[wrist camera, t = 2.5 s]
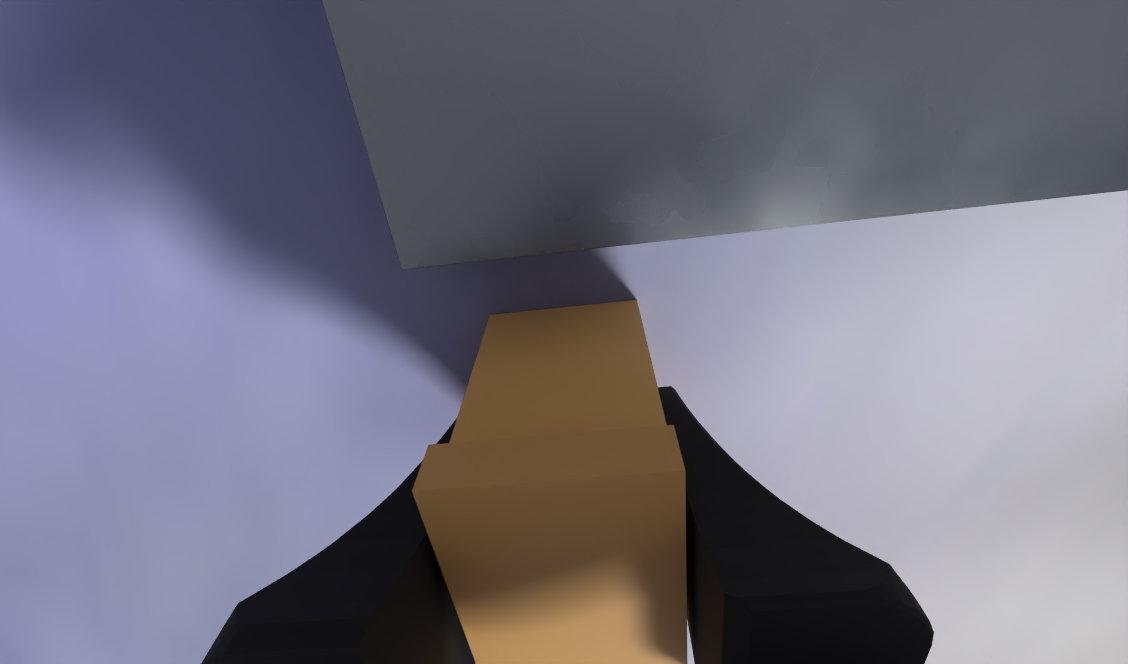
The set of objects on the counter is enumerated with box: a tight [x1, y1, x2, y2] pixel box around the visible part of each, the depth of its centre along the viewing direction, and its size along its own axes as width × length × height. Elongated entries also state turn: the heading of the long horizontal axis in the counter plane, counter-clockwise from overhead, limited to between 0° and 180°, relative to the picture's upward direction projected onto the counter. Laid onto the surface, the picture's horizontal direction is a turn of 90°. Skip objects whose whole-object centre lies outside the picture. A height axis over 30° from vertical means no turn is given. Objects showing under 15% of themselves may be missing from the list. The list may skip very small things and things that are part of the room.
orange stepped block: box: [412, 300, 687, 664], centre depth 12 cm, size 6×4×7 cm, turn 7°
